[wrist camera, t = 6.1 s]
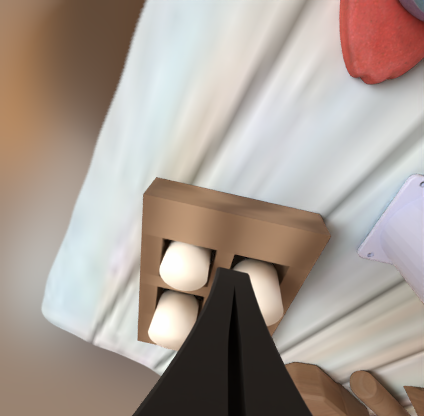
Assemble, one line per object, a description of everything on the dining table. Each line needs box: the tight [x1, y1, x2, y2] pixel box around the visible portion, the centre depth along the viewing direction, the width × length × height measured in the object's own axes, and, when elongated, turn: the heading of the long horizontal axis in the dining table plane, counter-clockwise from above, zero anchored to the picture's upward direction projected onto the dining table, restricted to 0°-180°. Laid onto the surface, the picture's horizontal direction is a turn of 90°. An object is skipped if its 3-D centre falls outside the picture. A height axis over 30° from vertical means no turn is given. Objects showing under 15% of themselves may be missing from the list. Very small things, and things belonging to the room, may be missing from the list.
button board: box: [138, 177, 331, 351], centre depth 23 cm, size 14×20×4 cm
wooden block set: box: [285, 362, 424, 416], centre depth 30 cm, size 17×6×18 cm
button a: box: [159, 240, 212, 291], centre depth 21 cm, size 4×4×4 cm
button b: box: [148, 290, 199, 350], centre depth 22 cm, size 4×4×4 cm
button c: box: [232, 259, 283, 326], centre depth 19 cm, size 4×4×4 cm
